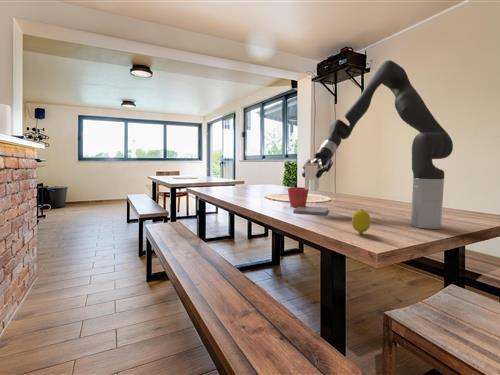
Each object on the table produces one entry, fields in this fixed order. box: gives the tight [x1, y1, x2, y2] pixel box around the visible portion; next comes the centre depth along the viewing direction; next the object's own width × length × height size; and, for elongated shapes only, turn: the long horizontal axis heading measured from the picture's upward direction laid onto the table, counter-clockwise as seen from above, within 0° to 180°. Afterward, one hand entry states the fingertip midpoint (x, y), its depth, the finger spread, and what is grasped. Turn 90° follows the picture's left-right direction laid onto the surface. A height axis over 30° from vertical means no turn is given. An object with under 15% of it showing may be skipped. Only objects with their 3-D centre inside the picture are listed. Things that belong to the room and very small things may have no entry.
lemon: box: [351, 208, 372, 235], centre depth 88 cm, size 6×6×8 cm
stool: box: [304, 162, 320, 191], centre depth 128 cm, size 6×6×12 cm
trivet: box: [292, 206, 329, 216], centre depth 129 cm, size 14×14×1 cm
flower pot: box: [287, 186, 310, 208], centre depth 145 cm, size 11×11×10 cm
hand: (310, 176), depth 127 cm, fingers closed on stool, 7 cm apart
